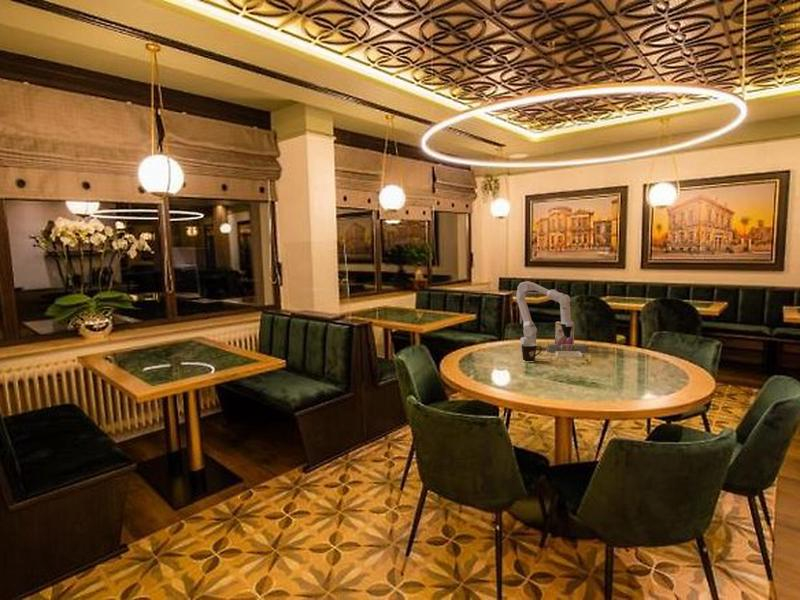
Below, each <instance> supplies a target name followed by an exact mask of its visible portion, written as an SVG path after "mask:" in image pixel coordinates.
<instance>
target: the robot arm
mask: <svg viewBox="0 0 800 600" xmlns="http://www.w3.org/2000/svg"><path fill="white" fill-rule="evenodd" d="M530 291H536V292H538V293H540V294H541V293H542V294H544V295H545V296H547V298H548V299H550V300H552V301H554V302H557V303H559V308H560V309H559V310H560V311H559V313H560V322H561V327H562V329H563V333H564V336H566V338H570V334H571V329H572V326H570V324H571V323H574V321H572V316H571V304H570V302H571V297H570V295H568V294H566V293H565V294H564V293H563V292H559V291H558V290H557V289H550V290H549V289H548V288H546V287H544V286H541V285H539V284H537V283H535V282H533V281H532V282H531V281H529V280H527V281H522V282H520V283H519V284H518V286H517V290H516V295H515V298H516V302H517V305H518V309H519V311H520V315H521V319H522V321H523V326H522V327H523V335H524V336H522V337H520V341H519V342H520V344H519V345H520V347H521V344H523V343H533V344H536V345H537V333H538V328H537V326H536V325H535V323H534V321H533V320H532V317H531V313H530V310H529V307H528V304H527V300H526V296H527V294H528V293H529V292H530ZM520 347H519V348H520ZM521 348H522V347H521ZM521 348H520V349H521Z"/></svg>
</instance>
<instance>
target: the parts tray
mask: <svg viewBox="0 0 800 600" xmlns="http://www.w3.org/2000/svg"><path fill="white" fill-rule="evenodd" d="M555 356H556V358H560V359H561V358H563V359H564V358H565V359H567V358H569V359H574V358H575V359H583V358H584V357H583V356H584V355H583V353H581V352H578V351H556V353H555Z"/></svg>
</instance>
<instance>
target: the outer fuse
mask: <svg viewBox="0 0 800 600" xmlns="http://www.w3.org/2000/svg"><path fill="white" fill-rule="evenodd" d="M574 347H575V351H578V352H581V354H585V353H586V347H587V345H586V344H585V343H584V344H581V343H580V344H579V343H577V344H575V343H574Z"/></svg>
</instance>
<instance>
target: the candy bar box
mask: <svg viewBox="0 0 800 600" xmlns="http://www.w3.org/2000/svg"><path fill="white" fill-rule="evenodd" d="M570 326H572V329H571V334H570V338H566V336H564V333H563V329H562V327H561V321H555V324H554V344H558V345H559V347H561V344H572V347H575V322H573V323H571V324H570Z"/></svg>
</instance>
